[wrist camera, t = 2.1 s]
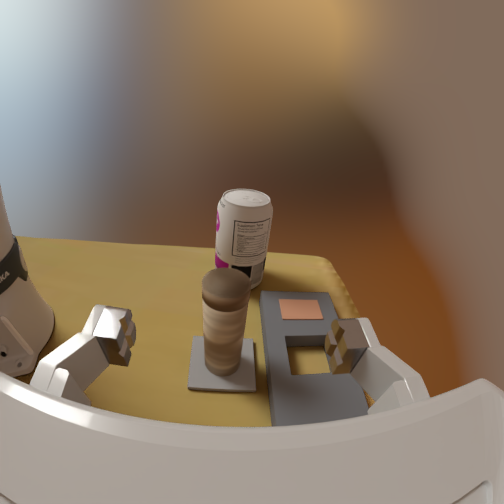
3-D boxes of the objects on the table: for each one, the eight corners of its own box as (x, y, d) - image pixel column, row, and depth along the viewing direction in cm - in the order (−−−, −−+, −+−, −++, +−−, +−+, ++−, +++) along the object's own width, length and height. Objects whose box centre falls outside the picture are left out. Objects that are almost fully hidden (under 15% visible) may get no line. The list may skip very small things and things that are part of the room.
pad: (255, 391, 29) (256, 389, 29) (187, 389, 28) (187, 386, 28) (252, 341, 36) (252, 338, 35) (193, 338, 35) (193, 335, 35)
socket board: (366, 437, 24) (376, 430, 22) (274, 451, 23) (279, 445, 21) (324, 303, 44) (328, 291, 42) (259, 301, 43) (261, 289, 41)
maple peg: (220, 383, 29) (224, 306, 22) (196, 359, 31) (192, 279, 24) (247, 363, 32) (261, 284, 25) (223, 342, 34) (228, 262, 27)
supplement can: (206, 283, 45) (208, 199, 37) (228, 259, 52) (233, 184, 43) (250, 300, 43) (262, 213, 35) (268, 272, 49) (281, 195, 41)
